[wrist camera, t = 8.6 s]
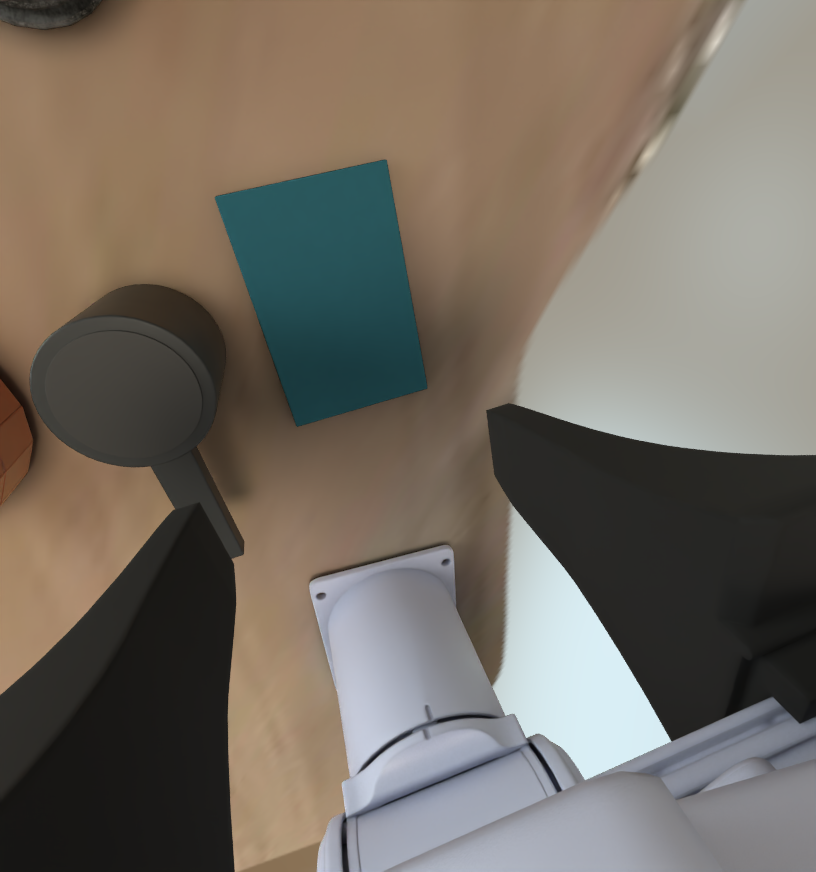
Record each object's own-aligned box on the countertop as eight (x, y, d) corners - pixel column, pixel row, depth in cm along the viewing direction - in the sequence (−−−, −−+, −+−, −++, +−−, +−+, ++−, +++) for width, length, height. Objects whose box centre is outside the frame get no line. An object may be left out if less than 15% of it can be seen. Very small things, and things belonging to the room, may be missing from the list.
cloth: (296, 423, 20) (296, 427, 20) (215, 196, 16) (214, 196, 15) (425, 385, 21) (427, 388, 21) (384, 159, 17) (386, 159, 16)
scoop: (54, 303, 16) (-15, 342, 12) (195, 269, 17) (175, 296, 13) (178, 517, 21) (159, 595, 17) (283, 485, 22) (288, 552, 18)
